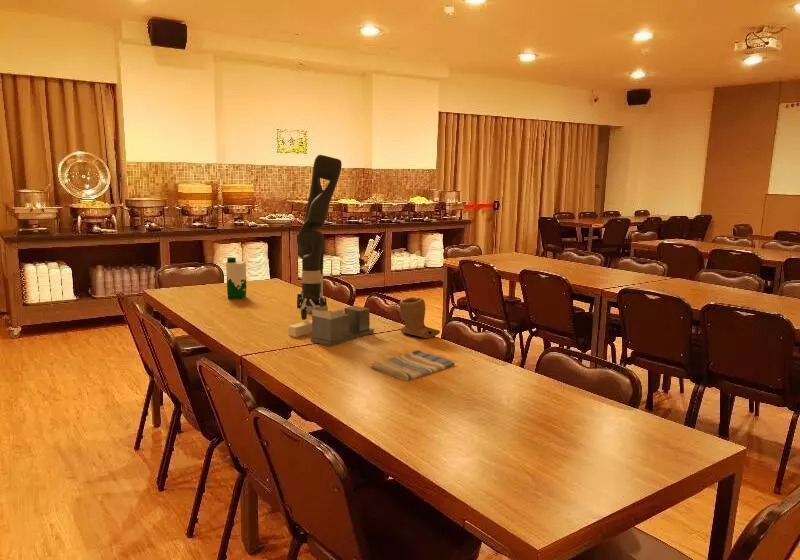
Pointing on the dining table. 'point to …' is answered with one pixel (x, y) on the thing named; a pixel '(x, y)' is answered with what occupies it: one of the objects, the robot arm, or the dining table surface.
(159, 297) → the dining table surface
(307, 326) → the rail
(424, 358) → the dish towel
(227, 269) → the milk carton
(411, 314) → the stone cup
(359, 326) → the stand
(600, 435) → the dining table surface
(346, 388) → the dining table surface
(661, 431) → the dining table surface
